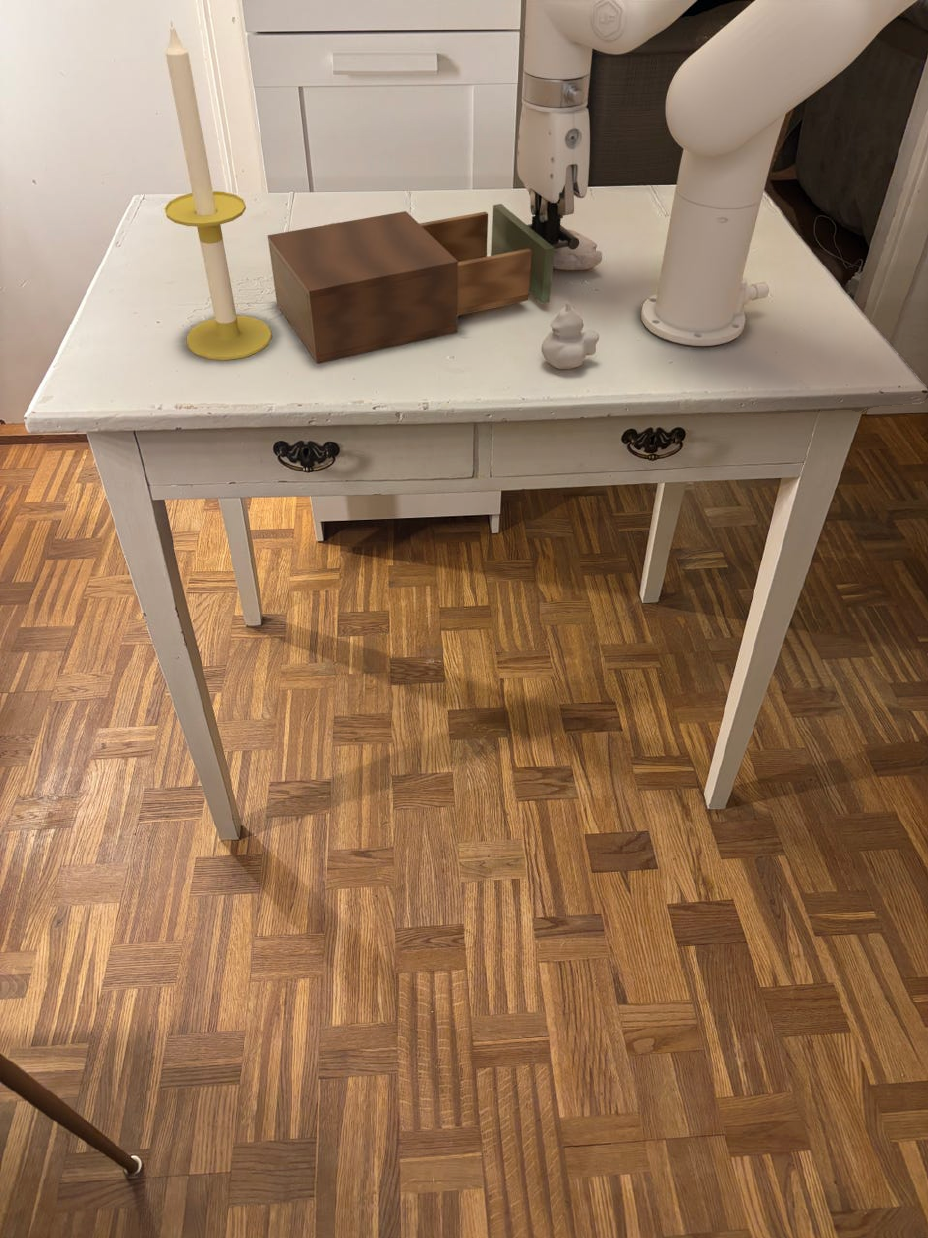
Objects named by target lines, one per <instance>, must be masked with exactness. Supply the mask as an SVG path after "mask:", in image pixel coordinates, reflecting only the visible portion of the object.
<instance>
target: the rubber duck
mask: <svg viewBox="0 0 928 1238" xmlns="http://www.w3.org/2000/svg"><path fill="white" fill-rule="evenodd" d="M550 327H551V331H550V332H549V334H548V335H547V336H546V337H545V339H544V340H543V341H542V344H541V349H540V350H541V354H542V356H543V358H544V360H545V361H546V362H547V363H548V364H549V365H551V366H552V367H554V368H556V369H559V370H568V369H574V368H578V367H580V366H582V365H583V363H584V360H585V359H586V357H587V356H592V355H594V354H596V351H597V346H596V345H597V343H598V342H599V340H600V334H599V333H598V331H596V330H591V329H590V330H586V331H583V329H584V327H585V326H584V321H583V318H582V316H581V315H580V313H579V312H578V311H577V310H576V309H574V308H573V306H572V305H571V304H570V302H569V301H568V299H567V300H566V303H565V306H564V307H563V308H561V309H560V310H559V312H558V313H557V315H556V317H555V318H553V320H552V321H551V322H550ZM582 331H583V332H582Z"/></svg>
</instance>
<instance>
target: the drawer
mask: <svg viewBox="0 0 928 1238" xmlns="http://www.w3.org/2000/svg"><path fill="white" fill-rule="evenodd" d="M491 221H492V222H491V223H492V225H491V253H490V255H489V256H488V238H489V237H488V235H489V233H488V232H489V213H488V211H481V212H476V213H470V214H464V215H458V216H454V217H449V218H442V219H436V220H432V221H427V222H420V223H419V224H420V225H421V226H422V227H423V228H424V229H425V230H426V231H427V232H428V233H429V234H430V235H431V236H432V237H433V238H434V239H435V240H436V241H437V242H438V243H439V244H440V245H441V246H442V247H444V248H445V249H446V250H447V251H448V252H449V253H450V254H451V255H452V256H453V257H454V258H455V259H456V260H457V261H458V306H457V317H458V316H463V315H468V314H473V313H477V312H481V311H486V310H490V309H496V308H500V307H504V306H509V305H513V304H518V303H523V302H528V301H529V300H530V295H531V296H533V297H534V298H535V300H537V301H538V302H539V303H540V304H541V305H542V304H547V303H550V301H551V292H552V280H553V271H554V268H553V259H554V249H558V248H563V247H569V248H570V249H572V250H574V249H576V248H577V247H578V246H579V239H578V238H577V237H575V236H574V235H573V234H572V233H570V232H569V231H568V230H566V229H567V228H565V227H564V226H563V225H561V224H560V233H559V240H560V242H555V243H550V244H549V243H548V242H547V241H546V240H544V239H543V238H542V237H541V236H540V235H538V234H537V233H536V232H535V231H533V230H532V223H529V224H526V223H525V222H524V221H522V220H521V218H519V217H517V215H516V214H514V213H513V212H512V211H511V210H509V209H508V208H507V207H506V206H504V205H503V204H502V203H498V204H494V205H493V204H492V220H491Z"/></svg>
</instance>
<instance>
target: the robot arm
mask: <svg viewBox="0 0 928 1238" xmlns="http://www.w3.org/2000/svg"><path fill="white" fill-rule="evenodd" d="M697 1H698V0H526V2H525V3H526V4H525V9H526V10H525V24H524V44H523V45H524V48H523V66H522V68H523V69H522V89H521V90H522V91H521V105H522V106H521V112H520V119H519V128H518V138H517V152H516V153H517V154H516V173H517V176H518V177H519V179H520V181H521V182H522V183H523V186H524V188H525V189H526V190H527V192H528V194H529V196H530V197H529V199H530V203H529V204H530V206H529V207H530V208H529V209H530V214H531V215H532V216H531V224H532V230H533V231H535V232H536V233H537V234H538V235H540V236H541V237H542V238H543V239H544V240H546V241H547V242H548V243H549V244H550V243H555V242H559V233H560V225H561V220H562V219H563V218H564V216H568V215H573V214H574V213H575V197H576V198H578V199H584V198H585V197H586V196H587V193H588V187H589V175H590V153H591V130H590V129H591V127H590V113H589V108H587V106H588V102H589V92H590V91H589V90H590V82H591V81H590V80H591V69H592V68H591V67H592V58H593V50H596V51H597V52H601V53H604V54H608V55H623V54H627V53H629V52H632V51H633V50H635V49H637V48H638V47H640V46H642V45H643V44H644V43H647V42H648V41H649V39H651V38H653V37H654V36H656V35H658V34H660V33H661V32H662V31H664V30H665V29H667V28H669V26H671V25H672V24H673V23H674V22H675V21H677V20H678V19H679V18H680V17H681V16H683V14H684V13H685V12H687V11H688V9H689V8H690V7H692V6H693V5H694V4H695V3H696V2H697ZM917 1H918V0H754V1H753V2H752V3H750V4H749V5H748V6H746V8H744V9H743V10H742V11H741V12H740V13H739V14H738V15H737V16H736V17H734V18H733V19H732V20H731V21H729V22H728V23H727V24H726V25H725V26H723V28H721V29H720V30H719V31H718V32H716V34H715V35H713V36H712V37H711V38H710V39H709V40H707V41H706V42H705V43H704V44H703V45H702V46H700V47H699V48H698V49H697V50H696V51H695V52H693V53H692V54H691V55H690V56H689V57H688V58H687V59H686V60H685V61H683V63H682V64H681V66H679V68H678V69H677V71H676V72H675V74H674V76H673V78H672V80H671V81H670V84H669V87H668V90H667V93H666V99H665V120H666V124H667V127H668V130H669V132H670V135H671V136H672V138H673V139H674V141H675V142H676V143H677V144H678V146H680V147H681V148H682V149H683V150H682V154H681V158H680V163H679V167H678V174H677V179H676V186H675V188H674V195H673V200H672V206H671V212H670V218H669V223H668V228H667V234H666V239H665V240H666V241H665V245H664V246H665V247H664V252H663V259H662V263H661V269H660V276H659V281H658V285H657V286H658V287H657V293H655V294H653V295H651V296H650V297H648V298H647V299H646V300H645V301H644V302H643V304H642V306H641V311H640V319H641V322H642V324H643V325H644V326H645V328H646V329H647V330H649V331H650V332H651V333H652V334H654V335H655V336H657V337H659V338H662V339H663V340H666V341H669V342H672V343H675V344H680V345H684V346H685V345H686V346H692V347H712V346H718V345H722V344H726V343H730V342H731V341H733V340H735V339H736V338H738V337H739V336H740V335H741V334H743V331H744V328H745V325H746V315H745V313H744V311H743V310H742V309H743V306H746V305H747V304H748V303H749V302H750V301H757V300H761V299H765V298H767V297H768V296H769V293H770V288H769V285H768V283H767V282H765V281H760V282H756V283H751V284H750V285H748V280H747V279H746V277H744V273H745V268H746V264H747V261H748V256H749V253H750V248H751V243H752V239H753V236H754V232H755V227H756V223H757V218H758V216H759V211H760V207H761V202H762V199H763V196H764V191H765V187H766V184H767V179H768V176H769V171H770V168H771V165H772V164H771V163H772V161H773V156H774V153H775V149H776V146H777V143H778V140H779V136H780V133H781V130H782V127H783V124H784V121H785V118H786V114H787V113H789V112H790V111H792V110H793V109H794V108H796V107H797V106H799V105H800V104H801V103H803V102H804V101H805V100H806V99H808V98H809V97H810V96H812V95H813V94H815V93H816V92H817V91H819V90H820V89H821V88H823V87H824V86H825V85H827V84H828V83H829V82H831V81H832V80H833V79H834V78H835V77H837V76H839V74H840V73H842V72H843V71H844V70H845V69H846V68H847V67H849V66H850V65H851V64H852V63H853V62H854V61H855V60H856V58H858V57H859V56H860V55H861V53H863V51H864V50H865V49H866V48H867V47H868V46H869V45H870V43H871V42H872V41H873V40H874V39H875V38H876V36H877V35H878V34H879V33H880V32H881V31H882V30H883V29H884V28H885V27H887V25H888V24H890V23H891V22H892V21H893V20H894V19H896V18H897V17H898V16H900V15H901V14H902V13H904V11H906V10H907V9H909V7H911V6H913V4H914V3H916V2H917Z"/></svg>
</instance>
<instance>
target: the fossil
mask: <svg viewBox="0 0 928 1238" xmlns="http://www.w3.org/2000/svg"><path fill="white" fill-rule="evenodd" d="M565 229H566V230H568V231H569V232H570V233H572V234H573V235H574V236H575V237H577V238H578V239H579V246H578V247H577V248H576V249H574V250H572V249H570V248H569V247H563V248H558V249H554V259H553V270H555V269H556V270H562V271H563V270H566V271H567V270H568V271H581V270H587V269H593V268H595V267H596V266H598V265H599V264H601V263H602V261H603V252H602V251H600V250H597V247H598V245H597V244H596V242H594V241H593V240H592V239H590V238H588V237H586V236H585V235H583V234H582V233H579V232H577V231H575V230H572V229H568V228H565ZM559 242H560V240H559Z"/></svg>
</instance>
